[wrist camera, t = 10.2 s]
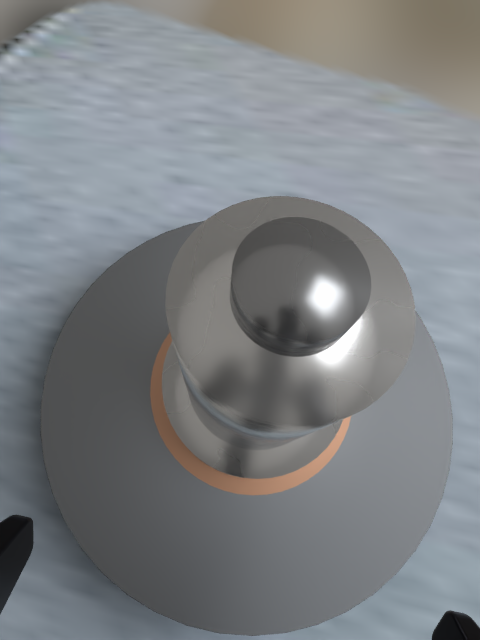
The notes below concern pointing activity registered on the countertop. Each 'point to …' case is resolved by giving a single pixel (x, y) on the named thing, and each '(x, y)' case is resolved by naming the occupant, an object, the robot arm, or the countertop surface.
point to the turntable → (225, 490)
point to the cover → (280, 333)
